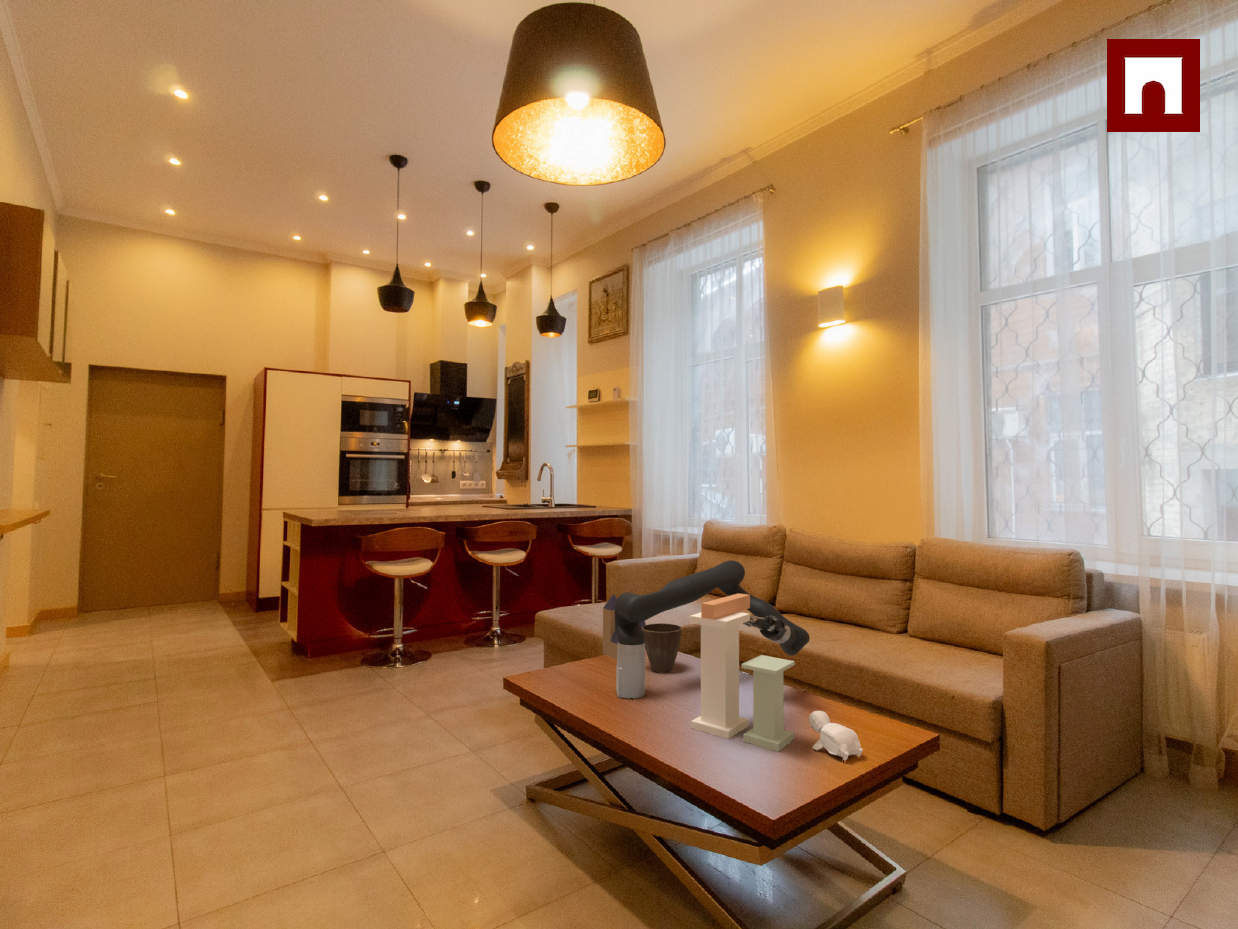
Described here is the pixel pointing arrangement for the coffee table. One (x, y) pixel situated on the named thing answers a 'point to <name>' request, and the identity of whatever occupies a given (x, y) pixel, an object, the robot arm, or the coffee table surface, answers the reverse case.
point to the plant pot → (662, 645)
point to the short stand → (768, 703)
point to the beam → (725, 606)
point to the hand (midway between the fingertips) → (754, 617)
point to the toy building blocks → (611, 628)
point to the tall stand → (720, 675)
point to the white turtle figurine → (834, 736)
